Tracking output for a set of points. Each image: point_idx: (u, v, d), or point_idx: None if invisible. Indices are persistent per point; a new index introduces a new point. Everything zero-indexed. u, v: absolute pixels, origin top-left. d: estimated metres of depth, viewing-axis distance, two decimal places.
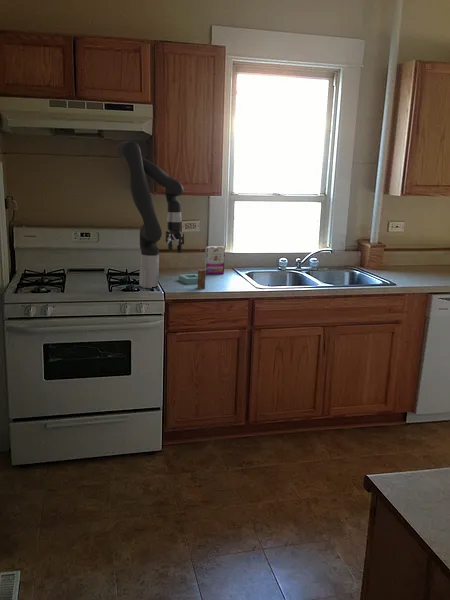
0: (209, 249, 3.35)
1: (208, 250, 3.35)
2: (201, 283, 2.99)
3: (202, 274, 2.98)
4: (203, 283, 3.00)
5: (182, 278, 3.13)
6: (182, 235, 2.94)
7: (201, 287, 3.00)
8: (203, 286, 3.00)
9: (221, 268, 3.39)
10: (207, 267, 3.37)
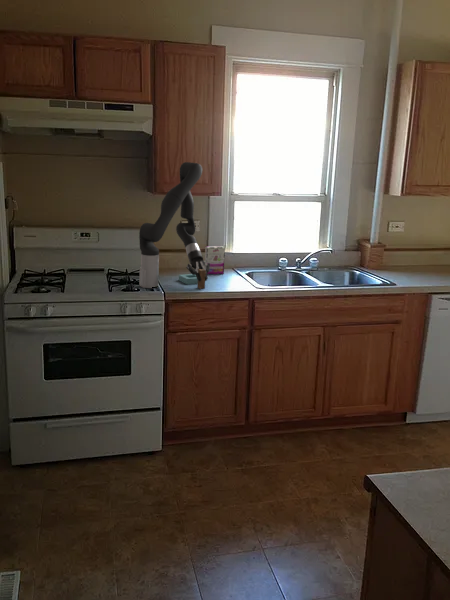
0: (209, 249, 3.35)
1: (208, 250, 3.35)
2: (201, 283, 2.99)
3: (202, 274, 2.98)
4: (203, 283, 3.00)
5: (182, 278, 3.13)
6: None
7: (201, 287, 3.00)
8: (203, 286, 3.00)
9: (221, 268, 3.39)
10: None
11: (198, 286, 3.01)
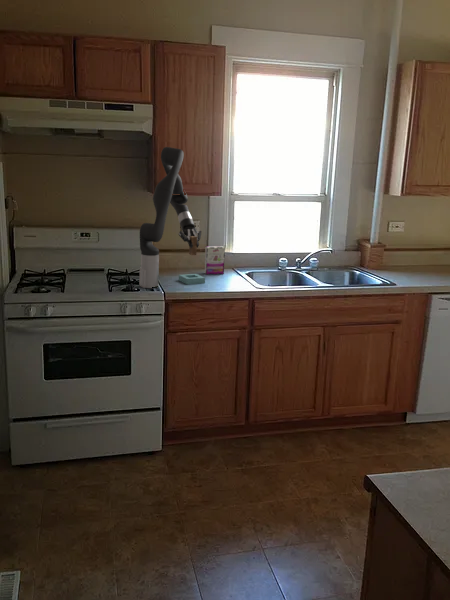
0: (209, 249, 3.35)
1: (208, 250, 3.35)
2: (192, 249, 3.10)
3: (193, 241, 3.09)
4: (194, 249, 3.11)
5: (182, 278, 3.13)
6: None
7: (192, 253, 3.11)
8: (194, 252, 3.11)
9: (221, 268, 3.39)
10: (207, 267, 3.37)
11: (190, 252, 3.12)
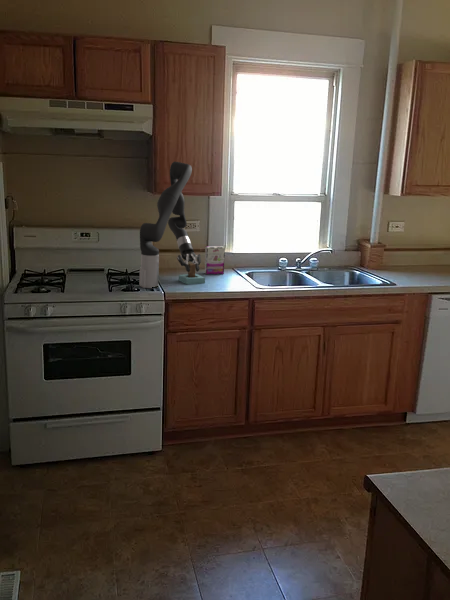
0: (209, 249, 3.35)
1: (208, 250, 3.35)
2: (191, 276, 3.14)
3: (192, 268, 3.13)
4: (193, 276, 3.14)
5: (182, 278, 3.13)
6: None
7: None
8: None
9: (221, 268, 3.39)
10: (207, 267, 3.37)
11: None
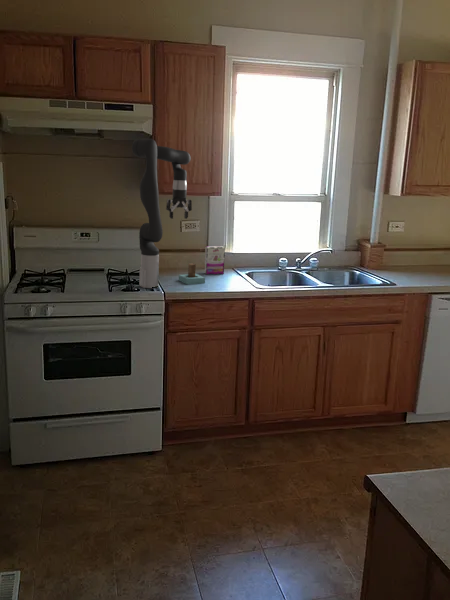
0: (209, 249, 3.35)
1: (208, 250, 3.35)
2: (191, 277, 3.14)
3: (192, 268, 3.13)
4: None
5: (182, 278, 3.13)
6: None
7: None
8: None
9: (221, 268, 3.39)
10: (207, 267, 3.37)
11: None
